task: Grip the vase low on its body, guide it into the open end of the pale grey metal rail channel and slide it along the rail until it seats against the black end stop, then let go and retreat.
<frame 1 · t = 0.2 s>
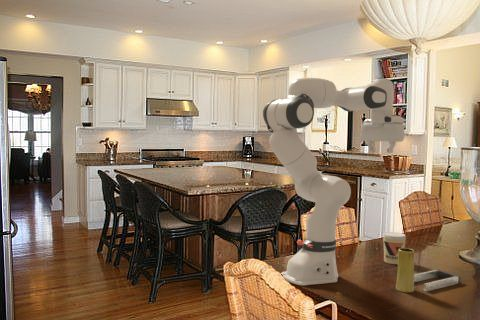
hand: (380, 152, 178), 47 cm above the table, fingers open, 8 cm apart
coffee cup: (393, 262, 186), on the table
rail board: (430, 283, 158), on the table
vase: (404, 290, 151), on the table
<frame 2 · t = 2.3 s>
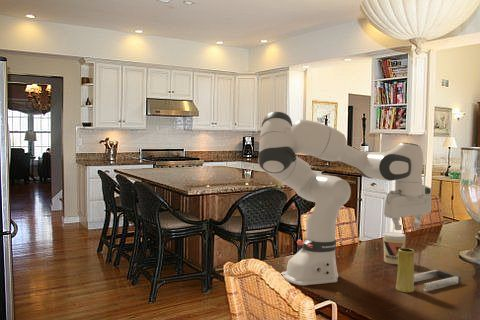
hand: (407, 228, 150), 22 cm above the table, fingers open, 8 cm apart
nothing on the table moved.
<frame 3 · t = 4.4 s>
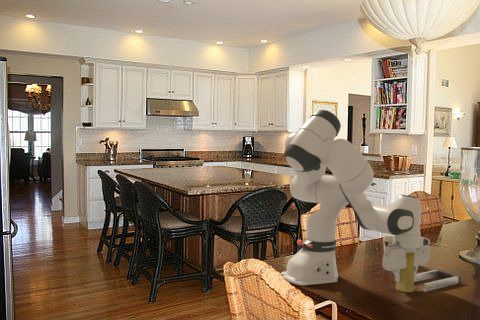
hand: (405, 279, 151), 4 cm above the table, fingers closed on vase, 6 cm apart
vase: (404, 290, 151), on the table, touching gripper
everything else where it was.
when the fingers open (5 cm above the table, at t = 6.4 s): vase moves 2 cm, on the table.
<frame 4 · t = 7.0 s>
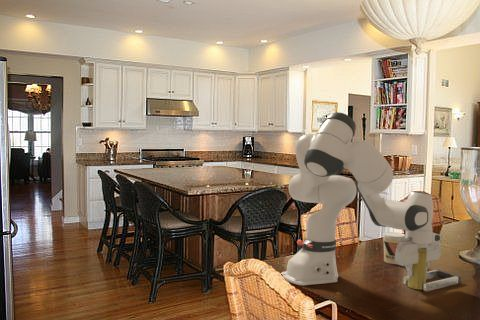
hand: (417, 274, 154), 5 cm above the table, fingers open, 6 cm apart
vase: (416, 287, 154), on the table, touching gripper
everything else where it was.
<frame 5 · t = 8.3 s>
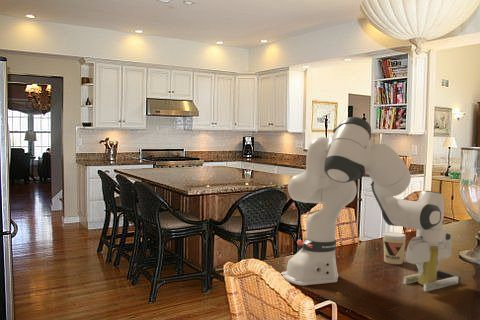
hand: (427, 272, 156), 5 cm above the table, fingers closed on vase, 6 cm apart
vase: (427, 284, 156), on the table, touching gripper
everything else where it was.
when the fingers open (5 cm above the table, at t = 9.4 s): vase stays where it is, on the table.
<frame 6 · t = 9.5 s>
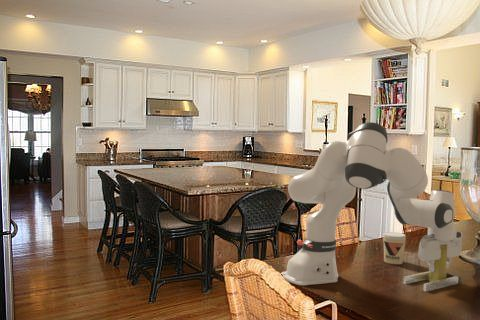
hand: (439, 270, 160), 5 cm above the table, fingers open, 6 cm apart
vase: (437, 282, 160), on the table, touching gripper
everything else where it was.
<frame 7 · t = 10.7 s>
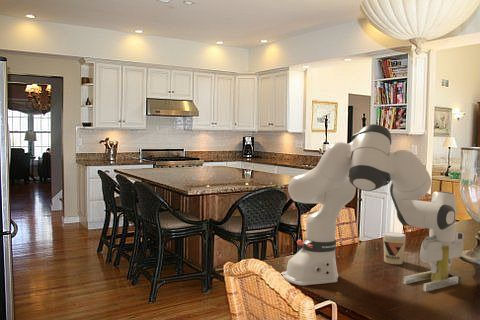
hand: (440, 271, 160), 4 cm above the table, fingers closed on vase, 5 cm apart
vase: (439, 282, 161), on the table, touching gripper
everything else where it was.
when the fingers open (4 cm above the table, at t = 10.9 s): vase stays where it is, on the table.
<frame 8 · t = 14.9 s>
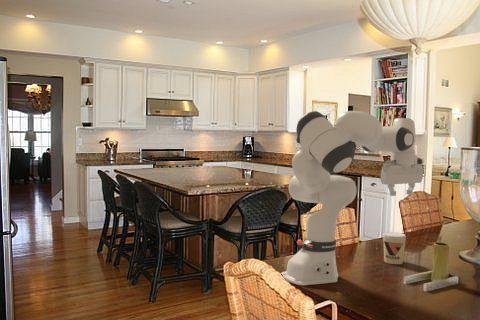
hand: (401, 195, 168), 31 cm above the table, fingers open, 8 cm apart
vase: (439, 282, 161), on the table
everything else where it was.
at the end: vase 0.0 cm from the target spot on the rail board, point 0.0 cm above the rail board's base; vase tilted 0°; the gripper is holding nothing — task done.
